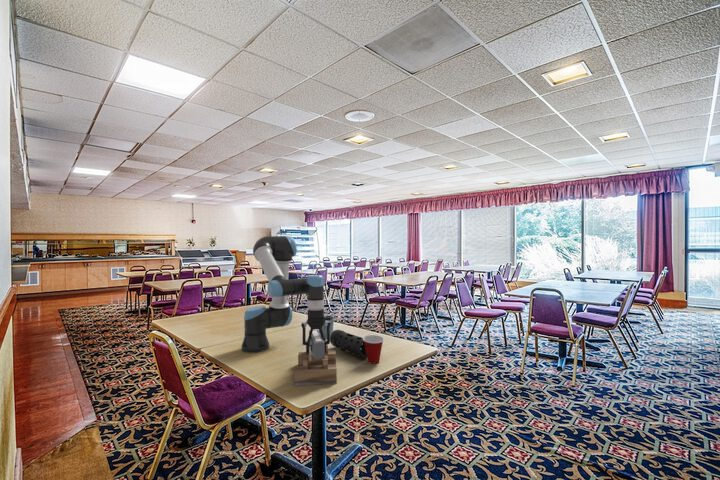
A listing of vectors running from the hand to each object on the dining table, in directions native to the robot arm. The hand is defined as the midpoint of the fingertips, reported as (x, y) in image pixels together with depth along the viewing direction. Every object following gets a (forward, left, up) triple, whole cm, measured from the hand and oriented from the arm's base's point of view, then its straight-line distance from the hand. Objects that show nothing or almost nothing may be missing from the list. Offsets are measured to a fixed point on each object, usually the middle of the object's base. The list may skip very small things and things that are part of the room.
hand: (316, 359), depth 160 cm
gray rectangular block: (0, 0, +4) cm, 4 cm away
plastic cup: (+28, +11, -7) cm, 31 cm away
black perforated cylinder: (+17, +27, -7) cm, 33 cm away
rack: (0, 0, -6) cm, 6 cm away
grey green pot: (+4, +59, -7) cm, 60 cm away
